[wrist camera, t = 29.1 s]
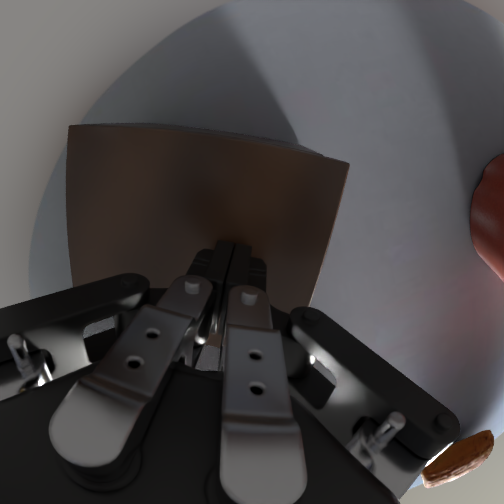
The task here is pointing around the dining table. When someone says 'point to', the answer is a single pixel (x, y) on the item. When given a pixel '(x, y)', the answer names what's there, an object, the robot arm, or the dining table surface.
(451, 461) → the clay tablet
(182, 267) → the lid
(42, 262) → the dining table surface
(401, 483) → the robot arm
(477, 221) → the flower pot
